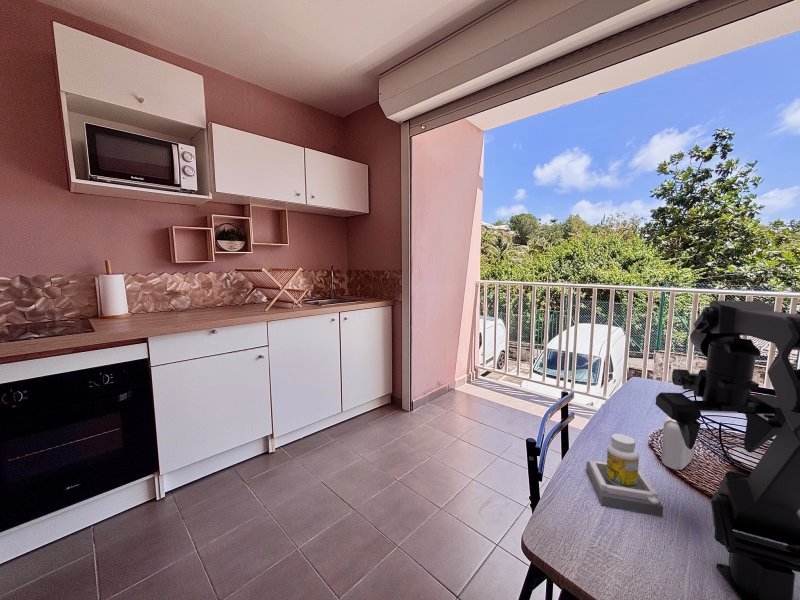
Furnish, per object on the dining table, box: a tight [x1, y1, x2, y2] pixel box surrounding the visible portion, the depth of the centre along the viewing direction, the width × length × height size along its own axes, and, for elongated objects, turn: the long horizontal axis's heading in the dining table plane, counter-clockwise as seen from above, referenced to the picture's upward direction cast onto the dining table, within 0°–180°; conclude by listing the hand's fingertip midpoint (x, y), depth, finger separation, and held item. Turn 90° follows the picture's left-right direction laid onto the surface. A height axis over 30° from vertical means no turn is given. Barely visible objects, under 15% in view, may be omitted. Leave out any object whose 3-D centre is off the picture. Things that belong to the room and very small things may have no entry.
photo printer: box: [661, 415, 695, 471], centre depth 76 cm, size 10×4×12 cm, turn 123°
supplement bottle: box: [606, 433, 640, 489], centre depth 66 cm, size 5×5×10 cm
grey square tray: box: [586, 460, 664, 517], centre depth 66 cm, size 12×10×3 cm
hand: (717, 449), depth 58 cm, fingers open, 9 cm apart
